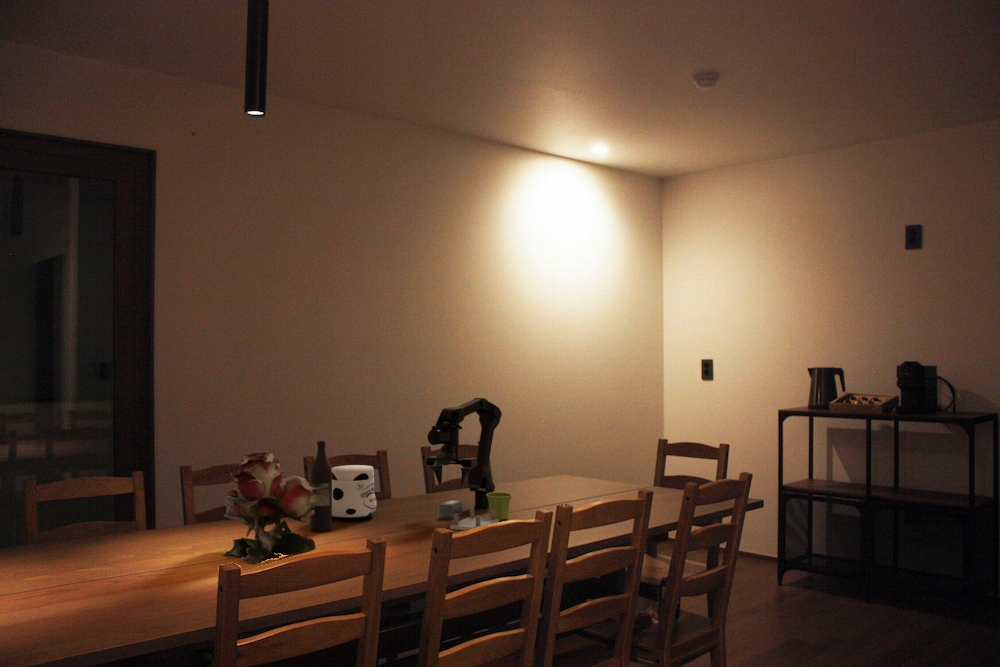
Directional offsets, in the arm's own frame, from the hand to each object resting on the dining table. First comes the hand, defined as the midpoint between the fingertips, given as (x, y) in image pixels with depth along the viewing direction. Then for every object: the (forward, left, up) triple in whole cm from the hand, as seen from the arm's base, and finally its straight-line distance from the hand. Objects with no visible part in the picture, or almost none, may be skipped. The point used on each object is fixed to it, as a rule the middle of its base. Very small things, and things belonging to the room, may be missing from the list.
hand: (451, 485), depth 291 cm
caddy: (+12, +15, -11) cm, 22 cm away
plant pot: (-2, +18, -11) cm, 22 cm away
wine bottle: (+38, -30, -11) cm, 50 cm away
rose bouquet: (+67, -30, -11) cm, 74 cm away
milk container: (+16, -32, -11) cm, 38 cm away
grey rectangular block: (0, 0, -11) cm, 11 cm away
